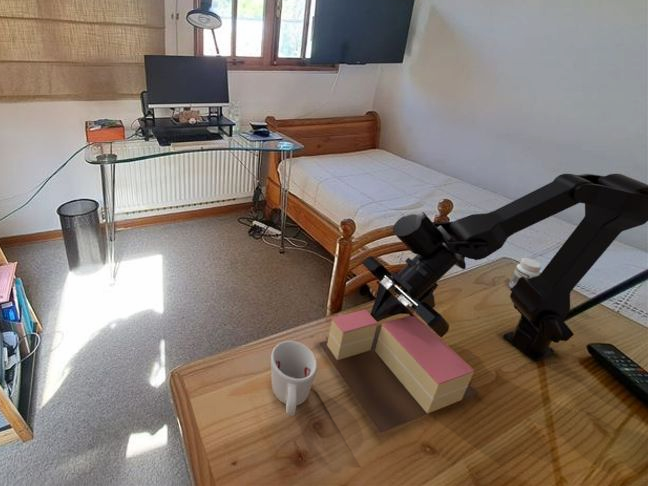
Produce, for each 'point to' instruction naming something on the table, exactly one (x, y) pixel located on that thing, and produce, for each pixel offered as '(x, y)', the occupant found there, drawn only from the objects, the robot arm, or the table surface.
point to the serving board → (379, 388)
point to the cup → (292, 373)
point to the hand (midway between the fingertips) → (370, 321)
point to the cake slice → (351, 334)
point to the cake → (423, 363)
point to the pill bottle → (525, 270)
